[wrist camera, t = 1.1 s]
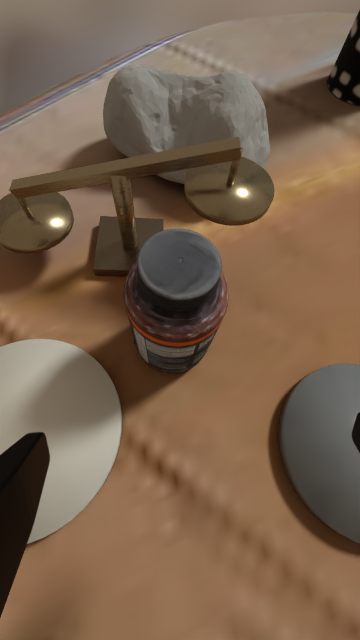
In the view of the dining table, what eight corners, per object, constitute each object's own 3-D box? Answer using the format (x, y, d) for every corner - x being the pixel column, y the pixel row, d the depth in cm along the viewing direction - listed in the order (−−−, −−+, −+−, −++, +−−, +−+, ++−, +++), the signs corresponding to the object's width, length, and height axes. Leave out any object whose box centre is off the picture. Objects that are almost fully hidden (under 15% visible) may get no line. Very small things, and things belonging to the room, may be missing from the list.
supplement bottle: (152, 298, 25) (146, 195, 14) (216, 321, 24) (257, 231, 14) (123, 360, 22) (92, 290, 12) (193, 386, 22) (224, 337, 12)
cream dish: (113, 540, 18) (111, 546, 17) (-104, 544, 17) (-120, 551, 16) (128, 344, 23) (127, 340, 22) (-38, 341, 22) (-46, 336, 21)
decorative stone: (279, 128, 31) (296, 59, 22) (249, 217, 33) (252, 191, 23) (137, 97, 34) (97, 24, 24) (117, 182, 36) (72, 145, 26)
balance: (246, 282, 26) (301, 182, 16) (4, 274, 25) (-103, 159, 15) (240, 228, 29) (284, 112, 18) (20, 218, 27) (-61, 88, 17)
